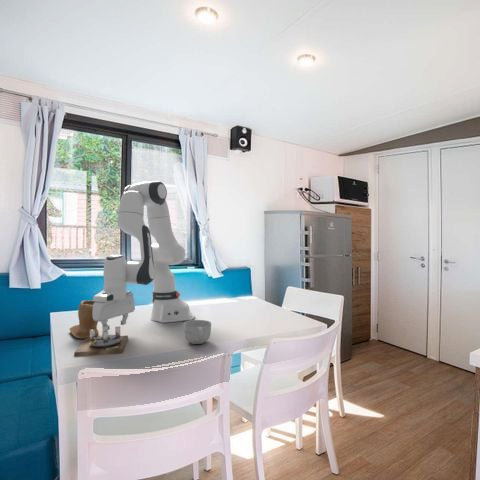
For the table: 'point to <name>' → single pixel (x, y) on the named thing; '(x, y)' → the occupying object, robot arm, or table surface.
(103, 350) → the stand board
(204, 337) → the teacup
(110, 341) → the grey pegged disc
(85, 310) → the tan boot
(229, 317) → the table surface
